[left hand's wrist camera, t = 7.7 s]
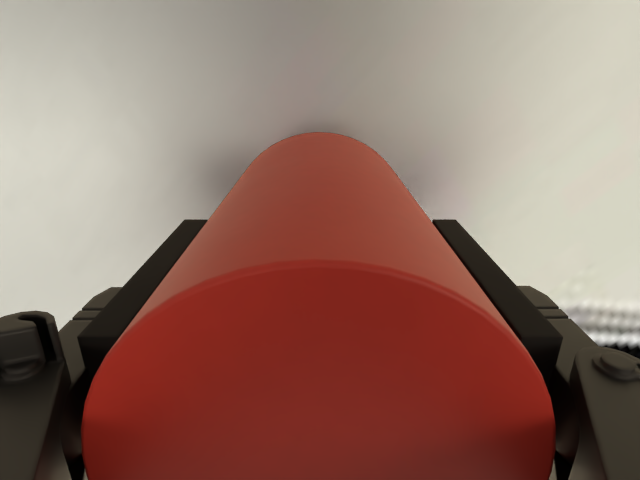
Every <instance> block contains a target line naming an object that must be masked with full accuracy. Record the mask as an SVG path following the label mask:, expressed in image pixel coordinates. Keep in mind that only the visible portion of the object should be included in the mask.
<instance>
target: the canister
mask: <svg viewBox="0 0 640 480" xmlns="http://www.w3.org/2000/svg"><path fill="white" fill-rule="evenodd" d="M81 448H82V457H83V462H84V466H85V471H86V476H87V478H88V480H549V477H550V475H551V472H552V467H553V461H554V455H555V450H556V425H555V418H554V413H553V408H552V402H551V397H550V395H549V392H548V390H547V387H546V384H545V382H544V379H543V377H542V374H541V372H540V371H539V369H538V367H537V366H536V364H535V362H534V361H533V359H532V358H531V356H530V354H529V353H528V351H527V350H526V348H525V347H524V345H523V344H522V343H521V341H520V340H519V339H518V337H517V336H516V335H515V333H514V332H513V331H512V329H511V328H510V327H509V325H508V324H507V323H506V321H505V320H504V319H503V317H502V316H501V315H500V313H499V312H498V311H497V309H496V308H495V307H494V305H493V304H492V303H491V301H490V300H489V298H488V297H487V296H486V294H485V293H484V292H483V290H482V289H481V288H480V286H479V285H478V284H477V282H476V281H475V280H474V278H473V277H472V276H471V274H470V273H469V272H468V270H467V269H466V268H465V266H464V265H463V264H462V262H461V261H460V260H459V258H458V257H457V256H456V254H455V253H454V251H453V250H452V249H451V247H450V246H449V245H448V243H447V242H446V241H445V239H444V238H443V237H442V235H441V234H440V233H439V231H438V230H437V229H436V227H435V226H434V225H433V223H432V222H431V221H430V219H429V218H428V217H427V215H426V214H425V213H424V211H423V210H422V209H421V207H420V206H419V204H418V203H417V202H416V200H415V199H414V198H413V196H412V195H411V194H410V192H409V191H408V190H407V188H406V187H405V186H404V184H403V183H402V182H401V180H400V179H399V178H398V176H397V175H396V174H395V172H394V171H393V170H392V168H391V167H390V166H389V165H388V163H387V162H386V161H385V160H384V159H383V158H382V157H381V156H380V155H379V154H378V153H377V152H375V151H374V150H373V149H371V148H370V147H368V146H367V145H365V144H363V143H361V142H359V141H357V140H355V139H353V138H350V137H347V136H344V135H339V134H334V133H324V132H314V133H304V134H300V135H295V136H292V137H289V138H286V139H284V140H281V141H280V142H278V143H276V144H274V145H272V146H270V147H269V148H268V149H266V150H265V151H264V152H262V153H261V154H260V155H259V156H258V157H257V158H256V159H255V160H254V161H253V162H252V163H251V164H250V166H249V167H248V168H247V169H246V171H245V172H244V173H243V175H242V176H241V177H240V179H239V180H238V181H237V183H236V184H235V185H234V187H233V188H232V189H231V191H230V192H229V193H228V195H227V196H226V197H225V199H224V200H223V201H222V203H221V204H220V205H219V206H218V208H217V209H216V210H215V212H214V213H213V214H212V216H211V217H210V218H209V220H208V221H207V222H206V224H205V225H204V226H203V228H202V229H201V230H200V232H199V233H198V234H197V236H196V237H195V238H194V240H193V241H192V242H191V243H190V245H189V246H188V247H187V249H186V250H185V251H184V253H183V254H182V255H181V257H180V258H179V259H178V261H177V262H176V263H175V265H174V266H173V267H172V269H171V270H170V271H169V273H168V274H167V275H166V277H165V278H164V279H163V281H162V282H161V283H160V284H159V286H158V287H157V288H156V290H155V291H154V292H153V294H152V295H151V296H150V298H149V299H148V300H147V302H146V303H145V304H144V306H143V307H142V308H141V310H140V311H139V312H138V314H137V315H136V316H135V318H134V319H133V320H132V321H131V323H130V324H129V325H128V327H127V328H126V329H125V331H124V332H123V333H122V335H121V336H120V337H119V339H118V340H117V341H116V343H115V344H114V345H113V347H112V348H111V349H110V351H109V352H108V353H107V355H106V356H105V358H104V360H103V361H102V363H101V365H100V367H99V369H98V370H97V372H96V374H95V376H94V378H93V380H92V383H91V386H90V389H89V392H88V395H87V398H86V401H85V405H84V411H83V418H82V425H81Z"/></svg>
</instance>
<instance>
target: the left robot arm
mask: <svg viewBox="0 0 640 480" xmlns="http://www.w3.org/2000/svg"><path fill="white" fill-rule="evenodd" d="M207 221H208V220H184V221H183V222H182V223H181V224H180V225H179V226H178V227H177V229H176V230H175V231H174V232H173V233H172V234H171V235H170V236H169V237H168V238H167V239H166V241H165V242H164V243H163V244H162V245H161V246H160V247H159V248H158V249H157V250H156V251H155V253H154V254H153V255H152V256H151V257H150V258H149V259H148V260H147V261H146V262H145V263H144V265H143V266H142V267H141V268H140V269H139V270H138V271H137V272H136V273H135V274H134V275H133V276H132V278H131V279H130V280H129V281H128V282H127V283H126V284H125V285H124V286H123V287H111V288H109V289H107V290H105V291H104V292H102V293H100V294H98V295H96V296H95V297H93V298H92V299H91V300H90V301H89V302H88V303H87V304H86V305H85V306H84V307H83V308H82V311H79V312H78V313H77V314H76V315H75V316H74V317H73V320H70V321H69V322H68V323H67V324H66V325H65V326H64V327H63V328H62V329H61V330H60V331H59V332H58V329H57V326H56V322H55V319H54V316H52V315H51V314H49V313H48V312H41V311H28V312H19V313H15V314H11V315H7V316H4V317H1V318H0V480H88V478H87V476H86V471H85V466H84V462H83V457H82V448H81V425H82V418H83V411H84V405H85V401H86V398H87V395H88V392H89V389H90V386H91V383H92V380H93V378H94V376H95V374H96V372H97V370H98V369H99V367H100V365H101V363H102V361H103V360H104V358H105V356H106V355H107V353H108V352H109V351H110V349H111V348H112V347H113V345H114V344H115V343H116V341H117V340H118V339H119V337H120V336H121V335H122V333H123V332H124V331H125V329H126V328H127V327H128V325H129V324H130V323H131V321H132V320H133V319H134V318H135V316H136V315H137V314H138V312H139V311H140V310H141V308H142V307H143V306H144V304H145V303H146V302H147V300H148V299H149V298H150V296H151V295H152V294H153V292H154V291H155V290H156V288H157V287H158V286H159V284H160V283H161V282H162V281H163V279H164V278H165V277H166V275H167V274H168V273H169V271H170V270H171V269H172V267H173V266H174V265H175V263H176V262H177V261H178V259H179V258H180V257H181V255H182V254H183V253H184V251H185V250H186V249H187V247H188V246H189V245H190V243H191V242H192V241H193V240H194V238H195V237H196V236H197V234H198V233H199V232H200V230H201V229H202V228H203V226H204V225H205V224H206V222H207ZM432 223H433V225H434V226H435V227H436V229H437V230H438V231H439V233H440V234H441V235H442V237H443V238H444V239H445V241H446V242H447V243H448V245H449V246H450V247H451V249H452V250H453V251H454V253H455V254H456V256H457V257H458V258H459V260H460V261H461V262H462V264H463V265H464V266H465V268H466V269H467V270H468V272H469V273H470V274H471V276H472V277H473V278H474V280H475V281H476V282H477V284H478V285H479V286H480V288H481V289H482V290H483V292H484V293H485V294H486V296H487V297H488V298H489V300H490V301H491V303H492V304H493V305H494V307H495V308H496V309H497V311H498V312H499V313H500V315H501V316H502V317H503V319H504V320H505V321H506V323H507V324H508V325H509V327H510V328H511V329H512V331H513V332H514V333H515V335H516V336H517V337H518V339H519V340H520V341H521V343H522V344H523V345H524V347H525V348H526V350H527V351H528V353H529V354H530V356H531V358H532V359H533V361H534V362H535V364H536V366H537V367H538V369H539V371H540V372H541V374H542V377H543V379H544V382H545V384H546V387H547V390H548V392H549V395H550V397H551V402H552V408H553V413H554V418H555V425H556V450H555V455H554V461H553V467H552V472H551V475H550V477H549V480H640V359H638V358H636V357H634V356H631V355H629V354H627V353H625V352H622V351H618V350H615V349H611V348H608V347H599V346H598V345H597V344H596V343H595V342H594V341H593V340H592V339H591V338H590V337H589V336H588V335H587V334H586V333H585V332H583V331H582V330H581V329H580V328H579V327H578V326H577V325H576V324H575V323H574V322H573V321H572V320H571V319H568V316H567V315H566V314H565V313H564V312H563V311H562V310H561V309H559V307H558V306H557V305H556V304H555V303H554V302H553V301H552V300H551V299H550V298H549V297H548V296H547V295H545V294H543V293H541V292H540V291H538V290H536V289H534V288H532V287H530V286H516V285H515V284H514V283H513V282H512V281H511V279H510V278H509V277H508V276H507V275H506V274H505V273H504V272H503V271H502V270H501V269H500V267H499V266H498V265H497V264H496V263H495V262H494V261H493V260H492V259H491V258H490V257H489V255H488V254H487V253H486V252H485V251H484V250H483V249H482V248H481V247H480V246H479V245H478V244H477V242H476V241H475V240H474V239H473V238H472V237H471V236H470V235H469V234H468V233H467V232H466V230H465V229H464V228H463V227H462V226H461V225H460V224H459V223H458V222H457V221H456V220H433V221H432Z"/></svg>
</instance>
